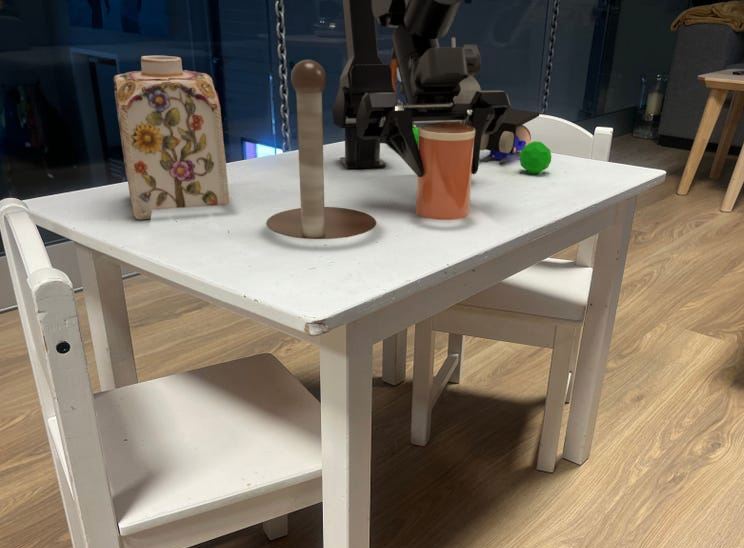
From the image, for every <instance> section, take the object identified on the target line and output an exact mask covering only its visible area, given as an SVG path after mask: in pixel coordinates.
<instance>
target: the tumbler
mask: <svg viewBox="0 0 744 548" xmlns="http://www.w3.org/2000/svg"><path fill="white" fill-rule="evenodd" d="M417 128H418V135H419V136H418V149H419V152H420V156H421V159H422V163H423V169H424V174H423V176H422V177H418V176H417V175H416V193H415V196H416V197H415V213H416V215H418V216H420V217H423V218H426V219H430V220H441V221H442V220H443V221H453V220H459V219H463V218H466V217H468V216H469V215H470V206H471V193H472V192H471V191H472V180H473V179H472V177H473V174H472V166H473V152H474V139H475V131H476V130H475V128H473V127H470V126H466V125H460V124H450V123H436V122H432V123H424V124H422V125H421V124H420V125H419V126H418V127H417Z"/></svg>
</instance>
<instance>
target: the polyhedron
mask: <svg viewBox="0 0 744 548" xmlns="http://www.w3.org/2000/svg"><path fill="white" fill-rule="evenodd" d="M551 152H552V151H551V149H550V148H549V147H547V145H545V144H544V143H543V142H542V141H537V140H535V141H530V143H529V144H528V145H526V146H525V147H523V148H522V150H521V152H519V157H518V158H519V163H520V164H519V165H520V166H521V167H522V168H523V169H524V170H525V171H526V172H527V173H528V174H530V175H531V174H532V175H538V174H540V173H541V172H543V171H545V170H546V169H548V168H549V166H550V164H551V162H552V153H551Z"/></svg>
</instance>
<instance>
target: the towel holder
mask: <svg viewBox="0 0 744 548" xmlns="http://www.w3.org/2000/svg"><path fill="white" fill-rule="evenodd" d="M290 82H291V86H292V88H293V89H294V91H295V94H296V95H295V96H296V117H297V119H296V120H297V144H298V145H297V146H298V147H297V148H298V170H299V195H300V196H299V198H300V199H299V200H300V207H298V208H292V209H287V210H283V211H280V212H278V213H275V214H272V215H271V216H270V217H269V218H267V220H266V222H265V225H266V226H267V228H268V229H269V230H271V231H272V232H274V233H276V234H279V235H282V236H287V237H291V238H298V239H307V240H336V239H343V238H344V239H345V238H351V237H356V236H358V235H359V236H360V235H363V234H365V233H368V232H370V231H372V230H373V229H374V228H375V227H376V226H377V221H376V218H374V216H372V215H370V214H369V213H366V212H364V211H360V210H356V209H351V208H347V207H337V206H325V172H324V168H325V166H324V164H325V163H324V132H323V131H324V130H323V129H324V128H323V91H324V89H325V88H326V85H327V74H326V70H325V69H324V67H323V66H322V65H321V64H320V63H319V62H317V61H316V60H312V59H303V60H301V61H299V62H297V63H295V65H294V66H293V67H292V70H291V73H290Z"/></svg>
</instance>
